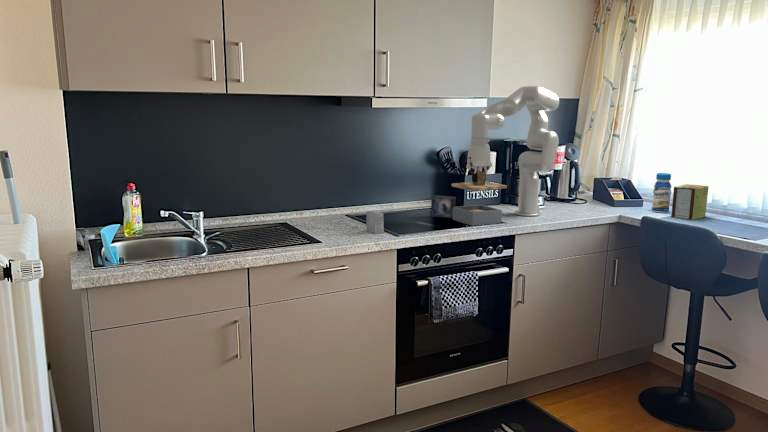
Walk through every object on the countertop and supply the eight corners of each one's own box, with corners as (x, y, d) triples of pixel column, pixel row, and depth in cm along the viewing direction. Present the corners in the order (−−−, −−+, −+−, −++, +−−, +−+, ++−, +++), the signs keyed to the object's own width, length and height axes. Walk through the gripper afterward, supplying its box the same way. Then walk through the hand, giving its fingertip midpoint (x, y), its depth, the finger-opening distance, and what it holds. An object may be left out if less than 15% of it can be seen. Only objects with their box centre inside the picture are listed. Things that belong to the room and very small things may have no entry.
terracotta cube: (475, 219, 272) (476, 209, 271) (484, 221, 269) (484, 210, 268) (468, 220, 269) (469, 210, 268) (477, 222, 265) (477, 211, 264)
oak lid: (483, 183, 278) (483, 168, 277) (506, 188, 262) (507, 172, 261) (451, 186, 270) (451, 170, 269) (474, 191, 254) (474, 175, 253)
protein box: (705, 216, 289) (709, 186, 287) (692, 220, 280) (695, 188, 277) (684, 213, 297) (687, 183, 294) (670, 217, 288) (673, 186, 285)
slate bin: (480, 218, 280) (480, 204, 278) (501, 224, 265) (501, 209, 264) (452, 221, 272) (452, 206, 271) (472, 227, 258) (472, 212, 257)
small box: (430, 218, 281) (430, 196, 279) (435, 215, 287) (435, 194, 285) (450, 220, 276) (451, 198, 275) (455, 217, 282) (456, 196, 280)
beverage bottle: (671, 211, 303) (675, 173, 299) (665, 213, 297) (669, 174, 293) (654, 209, 308) (658, 172, 305) (648, 211, 303) (652, 173, 299)
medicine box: (383, 233, 247) (384, 213, 245) (374, 234, 245) (374, 214, 243) (375, 229, 254) (375, 210, 252) (366, 230, 251) (366, 211, 250)
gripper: (489, 140, 269) (488, 179, 273) (459, 141, 262) (459, 182, 265) (499, 141, 262) (498, 181, 266) (469, 142, 255) (468, 184, 259)
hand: (478, 181), depth 266 cm, fingers closed on oak lid, 4 cm apart
